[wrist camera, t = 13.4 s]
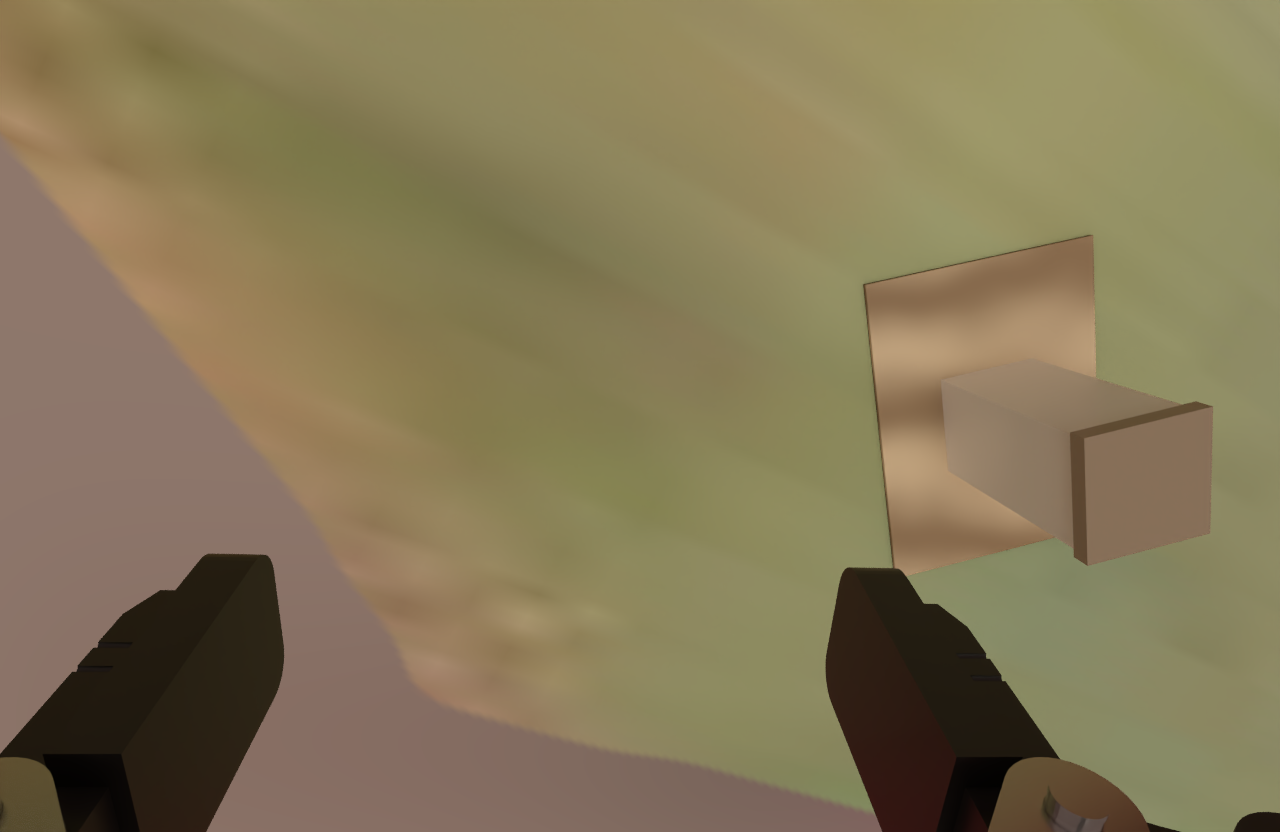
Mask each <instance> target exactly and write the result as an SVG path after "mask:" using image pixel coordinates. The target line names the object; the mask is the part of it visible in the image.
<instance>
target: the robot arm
mask: <svg viewBox="0 0 1280 832" xmlns="http://www.w3.org/2000/svg"><path fill="white" fill-rule="evenodd" d="M98 643H99V644H98V647H97V648H93V649H92V650H91V651H90V652H89V653H88V655H87V656H86V657H85V658H84V659H83V660H82V661H81V662H80V664H79V665H78V669H77V672H72V673H71V674H70V675H69V676H68V677H67V678H66V680H65V681H64V682H63V683H62V684H61V685H60V686H59V688H58V689H57V690H56V691H55V692H54V693H53V694H52V696H51V697H50V698H49V699H48V700H47V701H46V702H45V703H44V705H43V706H42V707H41V708H40V709H39V710H38V712H37V713H36V714H35V715H34V716H33V717H32V718H31V719H30V721H29V722H28V723H27V724H26V725H25V726H24V727H23V729H22V730H21V731H20V732H19V733H18V734H17V735H16V737H15V738H14V739H13V740H12V741H11V742H10V743H9V745H8V746H7V747H6V748H5V749H4V750H3V751H2V753H1V754H0V832H206V831H207V829H208V827H209V825H210V823H211V821H212V819H213V817H214V815H215V813H216V811H217V809H218V807H219V805H220V803H221V802H222V800H223V798H224V795H225V794H226V792H227V790H228V788H229V786H230V784H231V782H232V780H233V778H234V776H235V774H236V772H237V770H238V768H239V766H240V764H241V762H242V760H243V758H244V756H245V754H246V752H247V750H248V749H249V747H250V745H251V742H252V741H253V739H254V737H255V735H256V733H257V731H258V729H259V727H260V725H261V723H262V721H263V719H264V717H265V715H266V713H267V711H268V709H269V707H270V705H271V703H272V701H273V699H274V697H275V695H276V693H277V690H278V688H279V685H280V681H281V677H282V671H283V664H284V645H283V637H282V629H281V622H280V614H279V606H278V599H277V591H276V583H275V576H274V570H273V565H272V562H271V560H270V558H269V557H268V556H266V555H250V554H248V555H247V554H207V555H205V556H203V557H202V558H201V559H200V561H199V562H198V563H197V564H196V566H195V567H194V568H193V569H192V570H191V572H190V573H189V574H188V575H187V577H186V578H185V579H184V580H183V582H182V583H181V584H180V585H179V587H178V588H177V589H176V590H160V591H158V592H157V593H155V594H154V595H152V596H151V597H149V598H147V599H146V600H144V601H143V602H141V603H140V604H138V605H136V606H135V607H133V608H132V609H130V610H129V611H127V612H125V613H124V614H122V616H121V617H120V618H119V619H118V620H117V621H116V622H115V624H114V625H113V626H112V627H111V628H110V629H109V631H108V632H107V633H106V634H105V635H104V636H103V638H101V640H100V641H99V642H98ZM826 682H827V688H828V693H829V697H830V700H831V703H832V705H833V708H834V710H835V713H836V716H837V718H838V721H839V723H840V726H841V728H842V731H843V733H844V736H845V738H846V741H847V743H848V746H849V748H850V751H851V753H852V756H853V759H854V761H855V764H856V766H857V769H858V771H859V774H860V776H861V779H862V781H863V784H864V786H865V789H866V791H867V794H868V797H869V799H870V802H871V804H872V807H873V809H874V812H875V814H876V817H877V819H878V822H879V824H880V827H881V829H882V832H1180V831H1176V830H1172V829H1168V828H1164V827H1160V826H1157V825H1153V824H1150V823H1147V822H1146V821H1145V819H1144V817H1143V815H1142V813H1141V812H1140V811H1139V809H1138V808H1137V806H1136V805H1135V804H1134V803H1133V802H1132V801H1131V800H1130V799H1129V797H1128V796H1127V795H1125V794H1124V793H1123V792H1122V791H1121V790H1120V789H1119V788H1118V787H1116V786H1115V785H1113V784H1112V783H1111V782H1109V781H1108V780H1107V779H1105V778H1103V777H1102V776H1100V775H1098V774H1097V773H1095V772H1093V771H1091V770H1089V769H1087V768H1085V767H1082V766H1080V765H1077V764H1074V763H1072V762H1068V761H1064V760H1061V759H1060V758H1059V757H1058V756H1057V754H1056V753H1055V751H1054V750H1053V748H1052V747H1051V746H1050V744H1049V743H1048V741H1047V740H1046V738H1045V737H1044V736H1043V734H1042V733H1041V731H1040V730H1039V728H1038V727H1037V726H1036V724H1035V723H1034V721H1033V720H1032V718H1031V717H1030V716H1029V714H1028V713H1027V711H1026V710H1025V708H1024V707H1023V706H1022V704H1021V703H1020V701H1019V700H1018V698H1017V697H1016V696H1015V694H1014V693H1013V691H1012V690H1011V688H1010V687H1009V686H1008V684H1007V683H1006V681H1002V679H1001V674H1000V673H999V671H998V670H997V668H996V667H995V666H994V664H993V663H992V661H991V660H990V659H986V653H985V651H984V650H983V648H982V647H981V646H980V644H979V643H978V641H977V640H976V638H975V637H974V636H973V634H972V633H971V631H970V630H969V629H968V627H967V626H965V625H964V624H963V623H962V622H960V621H959V620H958V619H956V618H955V617H954V616H952V615H951V614H950V613H948V612H947V611H946V610H945V609H943V608H942V607H941V606H939V605H938V604H924V603H923V602H922V600H921V599H920V597H919V596H918V594H917V593H916V591H915V589H914V588H913V586H912V585H911V583H910V582H909V580H908V579H907V577H906V576H905V574H904V573H903V572H902V571H901V570H900V569H898V568H846V569H845V570H844V571H843V573H842V576H841V579H840V583H839V589H838V594H837V599H836V605H835V610H834V616H833V621H832V627H831V632H830V637H829V643H828V648H827V654H826ZM1233 832H1280V813H1272V812H1257V813H1253V814H1249V815H1247V816H1245V817H1243V818H1242V819H1241V820H1240V821H1239V822H1238V823H1237V825H1236V827H1235V829H1234V831H1233Z"/></svg>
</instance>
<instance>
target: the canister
mask: <svg viewBox="0 0 1280 832" xmlns="http://www.w3.org/2000/svg"><path fill="white" fill-rule="evenodd" d="M941 391H942V403H943V415H944V428H945V440H946V452H947V465H948V471H949V472H951V473H952V474H954V475H956V476H957V477H959V478H960V479H962V480H964V481H965V482H967V483H969V484H970V485H972V486H973V487H975V488H977V489H978V490H980V491H981V492H983V493H985V494H986V495H988V496H990V497H991V498H993V499H994V500H996V501H998V502H999V503H1001V504H1002V505H1004V506H1006V507H1007V508H1009V509H1011V510H1012V511H1014V512H1015V513H1017V514H1019V515H1020V516H1022V517H1023V518H1025V519H1027V520H1028V521H1030V522H1032V523H1033V524H1035V525H1036V526H1038V527H1040V528H1041V529H1043V530H1044V531H1046V532H1048V533H1049V534H1051V535H1053V536H1054V537H1056V538H1057V539H1059V540H1061V541H1062V542H1064V543H1065V544H1067V545H1069V546H1070V547H1072V548H1074V557H1075V558H1076V559H1078V560H1079V561H1081V562H1083V563H1084V564H1086V565H1087V566H1089V565H1092V564H1096V563H1100V562H1104V561H1107V560H1111V559H1115V558H1119V557H1122V556H1126V555H1130V554H1134V553H1137V552H1141V551H1145V550H1149V549H1153V548H1156V547H1160V546H1164V545H1168V544H1171V543H1175V542H1179V541H1183V540H1186V539H1190V538H1194V537H1198V536H1202V535H1205V534H1209V533H1210V517H1211V473H1212V428H1213V406H1209V405H1206V404H1203V403H1199V402H1192V403H1188V404H1184V405H1182V404H1178V403H1175V402H1172V401H1169V400H1165V399H1162V398H1159V397H1156V396H1152V395H1149V394H1146V393H1143V392H1139V391H1136V390H1133V389H1130V388H1126V387H1123V386H1120V385H1117V384H1113V383H1110V382H1107V381H1104V380H1100V379H1097V378H1094V377H1091V376H1087V375H1084V374H1081V373H1078V372H1074V371H1071V370H1068V369H1065V368H1061V367H1058V366H1055V365H1052V364H1048V363H1045V362H1042V361H1039V360H1036V359H1032V358H1031V359H1027V360H1022V361H1018V362H1014V363H1010V364H1005V365H1001V366H997V367H993V368H988V369H984V370H980V371H975V372H971V373H967V374H963V375H958V376H954V377H950V378H946V379H941Z"/></svg>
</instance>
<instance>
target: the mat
mask: <svg viewBox="0 0 1280 832" xmlns="http://www.w3.org/2000/svg"><path fill="white" fill-rule="evenodd" d="M864 293H865V302H866V312H867V321H868V331H869V340H870V350H871V359H872V369H873V378H874V388H875V397H876V407H877V417H878V426H879V436H880V445H881V455H882V464H883V474H884V483H885V493H886V502H887V512H888V521H889V531H890V540H891V550H892V559H893V568H898V569H900V570H901V571H902V572H903V573H904V574H905V576H908V575H912V574H916V573H919V572H923V571H927V570H931V569H935V568H939V567H943V566H946V565H950V564H954V563H958V562H962V561H966V560H970V559H973V558H977V557H981V556H985V555H989V554H993V553H997V552H1000V551H1004V550H1008V549H1012V548H1016V547H1020V546H1024V545H1027V544H1031V543H1035V542H1039V541H1043V540H1047V539H1051V538H1054V536H1053V535H1051V534H1049V533H1048V532H1046V531H1044V530H1043V529H1041V528H1040V527H1038V526H1036V525H1035V524H1033V523H1032V522H1030V521H1028V520H1027V519H1025V518H1023V517H1022V516H1020V515H1019V514H1017V513H1015V512H1014V511H1012V510H1011V509H1009V508H1007V507H1006V506H1004V505H1002V504H1001V503H999V502H998V501H996V500H994V499H993V498H991V497H990V496H988V495H986V494H985V493H983V492H981V491H980V490H978V489H977V488H975V487H973V486H972V485H970V484H969V483H967V482H965V481H964V480H962V479H960V478H959V477H957V476H956V475H954V474H952V473H951V472H949V471H948V465H947V452H946V440H945V428H944V415H943V403H942V391H941V379H946V378H950V377H954V376H958V375H963V374H967V373H971V372H975V371H980V370H984V369H988V368H993V367H997V366H1001V365H1005V364H1010V363H1014V362H1018V361H1022V360H1027V359H1031V358H1032V359H1036V360H1039V361H1042V362H1045V363H1048V364H1052V365H1055V366H1058V367H1061V368H1065V369H1068V370H1071V371H1074V372H1078V373H1081V374H1084V375H1087V376H1091V377H1094V378H1096V350H1095V302H1094V254H1093V235H1089V236H1085V237H1080V238H1075V239H1071V240H1066V241H1062V242H1057V243H1052V244H1048V245H1043V246H1039V247H1034V248H1030V249H1025V250H1020V251H1016V252H1011V253H1007V254H1002V255H997V256H993V257H988V258H984V259H979V260H974V261H970V262H965V263H961V264H956V265H952V266H947V267H942V268H938V269H933V270H929V271H924V272H919V273H915V274H910V275H906V276H901V277H896V278H892V279H887V280H883V281H878V282H874V283H869V284H864Z"/></svg>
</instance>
